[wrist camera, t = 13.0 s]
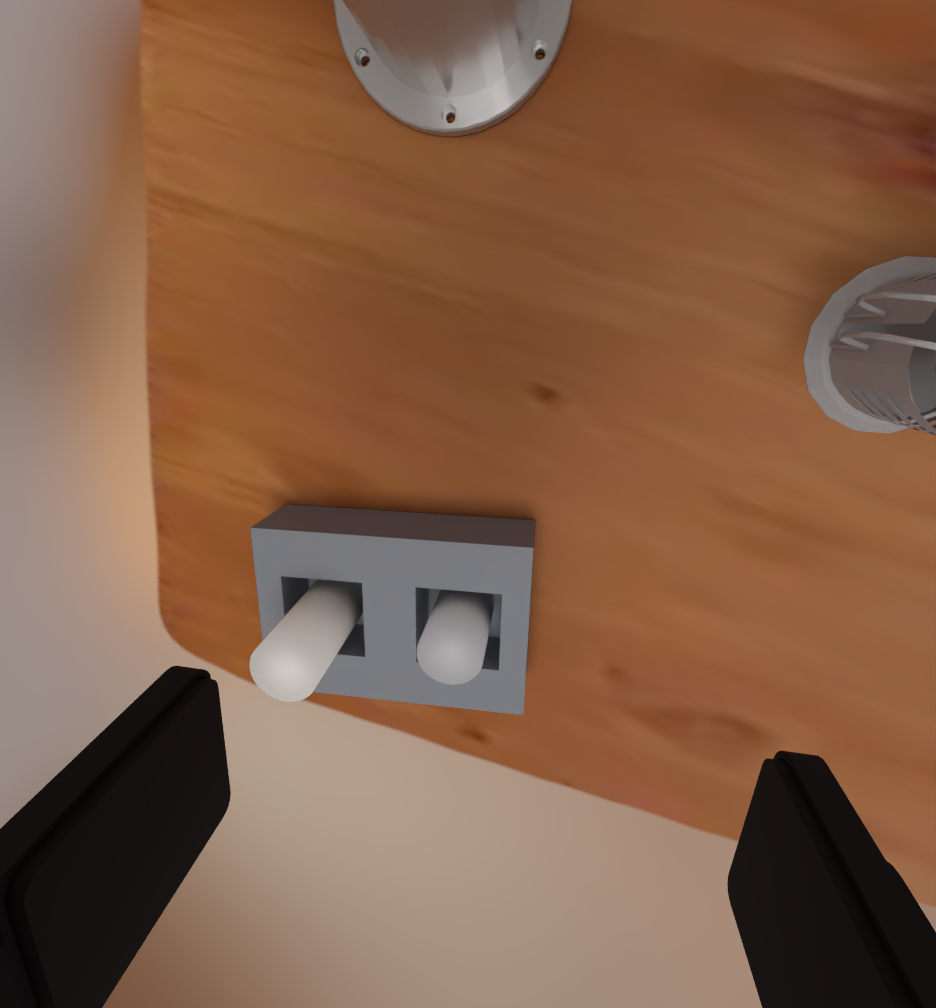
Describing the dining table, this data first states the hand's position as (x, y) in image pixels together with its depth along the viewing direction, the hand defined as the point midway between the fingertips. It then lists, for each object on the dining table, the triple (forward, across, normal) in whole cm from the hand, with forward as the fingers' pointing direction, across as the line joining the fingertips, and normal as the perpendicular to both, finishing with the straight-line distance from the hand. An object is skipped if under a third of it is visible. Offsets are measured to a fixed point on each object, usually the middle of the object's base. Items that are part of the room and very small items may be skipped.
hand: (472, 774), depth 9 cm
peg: (+27, +12, +13) cm, 32 cm away
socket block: (+28, +8, +12) cm, 32 cm away
